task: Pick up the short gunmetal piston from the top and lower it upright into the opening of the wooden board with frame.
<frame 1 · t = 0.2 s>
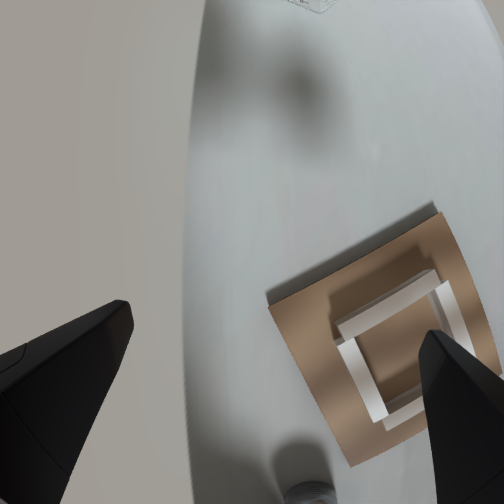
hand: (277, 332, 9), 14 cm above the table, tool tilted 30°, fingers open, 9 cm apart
piston: (310, 498, 21), on the table
wooden board with frame: (400, 346, 22), on the table
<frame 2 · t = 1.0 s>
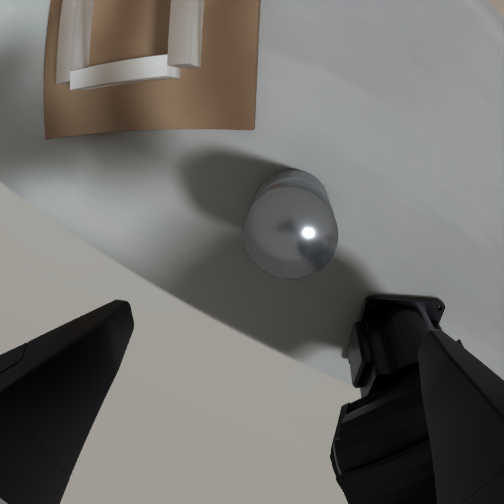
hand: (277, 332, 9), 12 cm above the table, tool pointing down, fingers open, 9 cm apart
piston: (292, 205, 19), on the table
wooden board with frame: (141, 20, 15), on the table
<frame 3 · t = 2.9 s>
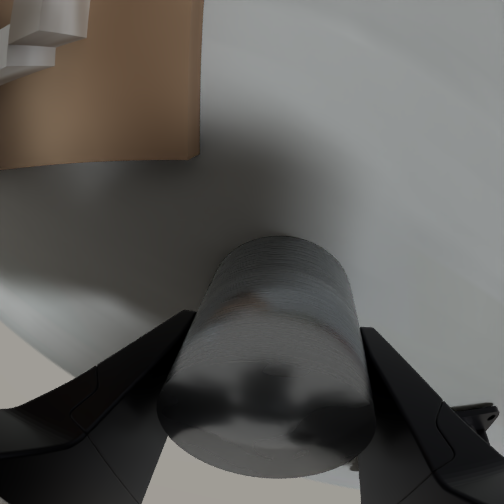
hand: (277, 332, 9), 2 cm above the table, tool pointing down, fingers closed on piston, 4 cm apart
piston: (280, 301, 10), on the table, touching gripper
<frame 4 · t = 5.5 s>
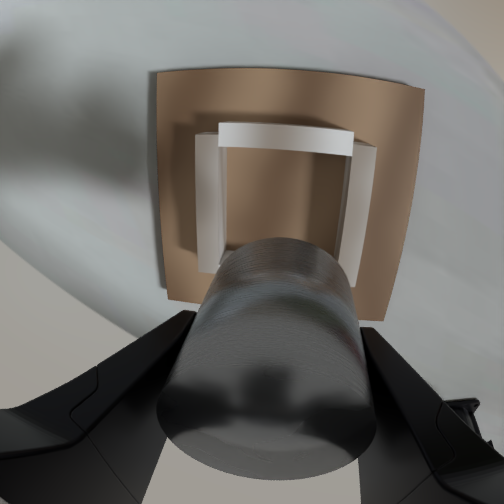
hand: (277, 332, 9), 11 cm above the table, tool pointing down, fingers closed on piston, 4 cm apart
piston: (280, 302, 10), point 10 cm above the table, touching gripper
wooden board with frame: (284, 198, 19), on the table
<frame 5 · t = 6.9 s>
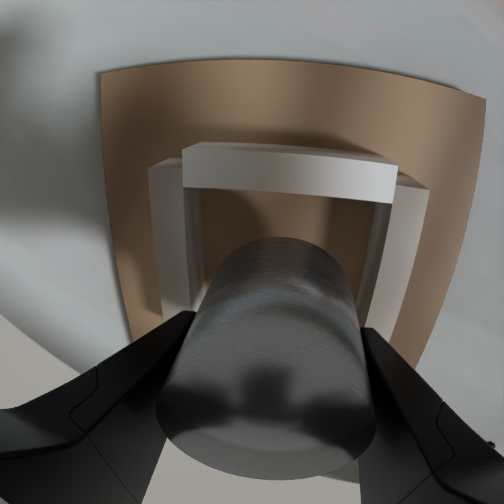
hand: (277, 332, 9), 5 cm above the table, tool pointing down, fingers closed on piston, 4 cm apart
piston: (280, 302, 10), point 4 cm above the table, touching gripper
wooden board with frame: (284, 249, 14), on the table
when the fingers open (4 cm above the table, at t = 8.1 s): piston drops 1 cm, resting on wooden board with frame.
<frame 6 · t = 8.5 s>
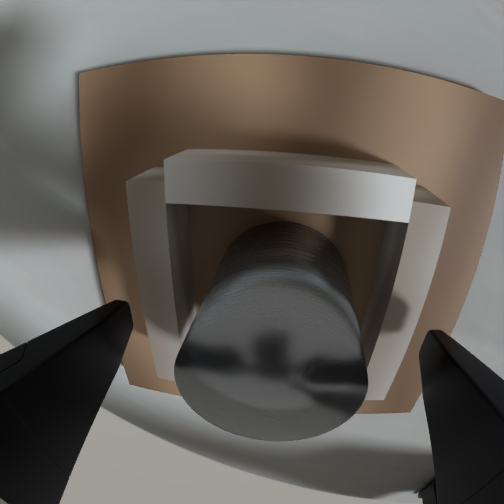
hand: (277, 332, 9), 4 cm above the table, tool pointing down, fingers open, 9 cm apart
piston: (283, 281, 11), point 1 cm above the table, touching wooden board with frame
wooden board with frame: (283, 267, 12), on the table
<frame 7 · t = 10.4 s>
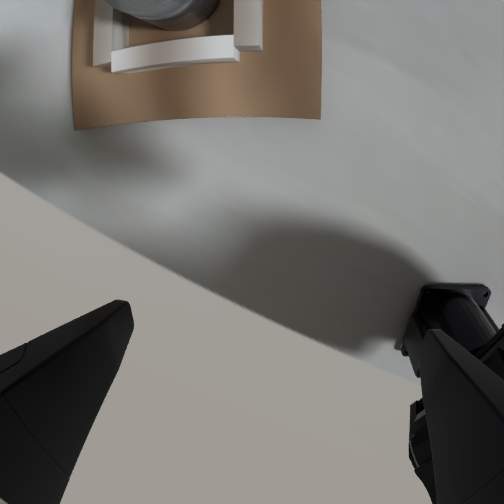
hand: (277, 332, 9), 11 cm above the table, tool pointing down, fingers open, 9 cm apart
wooden board with frame: (187, 1, 14), on the table
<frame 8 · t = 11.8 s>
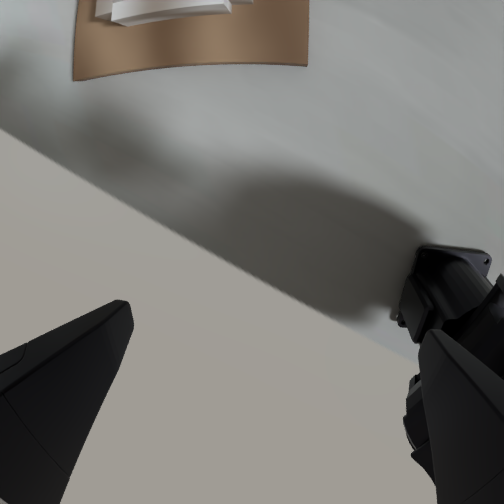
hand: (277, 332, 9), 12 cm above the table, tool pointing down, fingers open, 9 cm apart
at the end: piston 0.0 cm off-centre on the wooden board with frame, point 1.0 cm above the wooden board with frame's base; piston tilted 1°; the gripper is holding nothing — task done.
